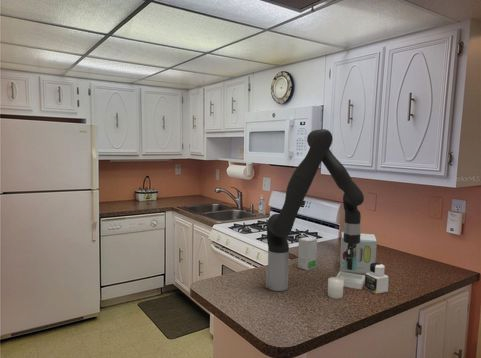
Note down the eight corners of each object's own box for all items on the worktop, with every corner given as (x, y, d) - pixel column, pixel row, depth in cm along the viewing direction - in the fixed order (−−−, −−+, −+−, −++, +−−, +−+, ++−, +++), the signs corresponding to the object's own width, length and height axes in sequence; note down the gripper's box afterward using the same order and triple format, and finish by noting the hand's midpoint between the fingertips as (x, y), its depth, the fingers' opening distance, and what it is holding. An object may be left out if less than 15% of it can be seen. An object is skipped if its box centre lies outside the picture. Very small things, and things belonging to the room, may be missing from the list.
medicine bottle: (364, 288, 161) (365, 262, 160) (376, 285, 164) (377, 260, 163) (375, 294, 155) (377, 267, 154) (388, 291, 157) (389, 265, 156)
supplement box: (339, 271, 182) (341, 237, 180) (339, 263, 195) (341, 231, 193) (375, 275, 177) (377, 240, 176) (373, 267, 190) (374, 234, 188)
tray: (334, 284, 165) (334, 279, 164) (339, 276, 175) (339, 271, 175) (361, 289, 159) (361, 284, 159) (364, 280, 170) (365, 275, 170)
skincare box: (306, 270, 183) (307, 241, 181) (296, 267, 188) (297, 238, 186) (316, 267, 188) (317, 238, 187) (306, 264, 193) (307, 236, 192)
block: (344, 269, 166) (344, 258, 165) (346, 266, 170) (346, 255, 170) (355, 271, 163) (355, 260, 163) (357, 267, 168) (357, 257, 167)
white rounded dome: (326, 296, 151) (326, 280, 151) (329, 291, 157) (330, 276, 156) (341, 299, 148) (342, 283, 148) (344, 294, 154) (344, 278, 153)
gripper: (346, 228, 173) (345, 262, 175) (340, 234, 160) (339, 271, 162) (362, 229, 170) (361, 264, 171) (358, 236, 157) (356, 273, 159)
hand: (350, 267), depth 167 cm, fingers closed on block, 5 cm apart
